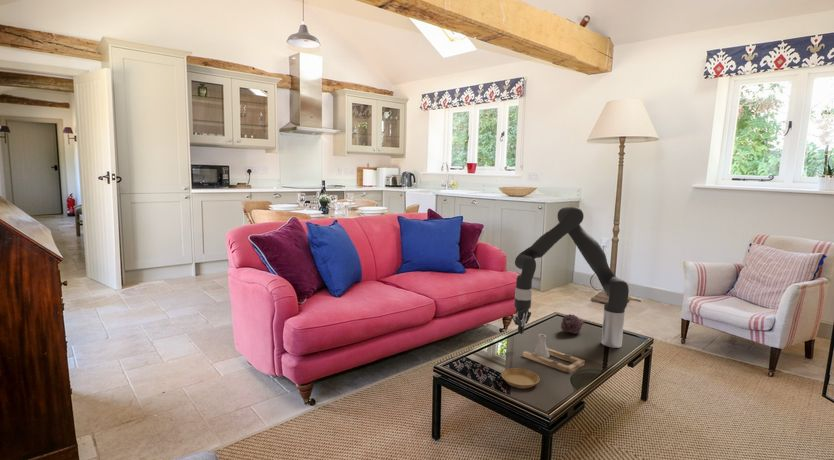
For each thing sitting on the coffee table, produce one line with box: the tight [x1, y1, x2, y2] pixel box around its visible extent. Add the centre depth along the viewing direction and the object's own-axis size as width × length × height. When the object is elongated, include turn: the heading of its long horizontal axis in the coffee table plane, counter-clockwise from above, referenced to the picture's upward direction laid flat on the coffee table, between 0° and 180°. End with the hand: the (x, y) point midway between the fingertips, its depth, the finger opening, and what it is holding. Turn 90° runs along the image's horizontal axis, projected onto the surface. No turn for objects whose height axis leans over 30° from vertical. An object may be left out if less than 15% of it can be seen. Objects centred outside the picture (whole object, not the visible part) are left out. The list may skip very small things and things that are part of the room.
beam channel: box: [522, 347, 586, 374], centre depth 198 cm, size 13×23×2 cm, turn 44°
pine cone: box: [560, 314, 586, 335], centre depth 233 cm, size 18×10×10 cm, turn 128°
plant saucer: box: [501, 367, 540, 389], centre depth 177 cm, size 15×15×3 cm
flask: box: [532, 333, 551, 359], centre depth 202 cm, size 7×7×10 cm
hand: (520, 333), depth 210 cm, fingers closed
